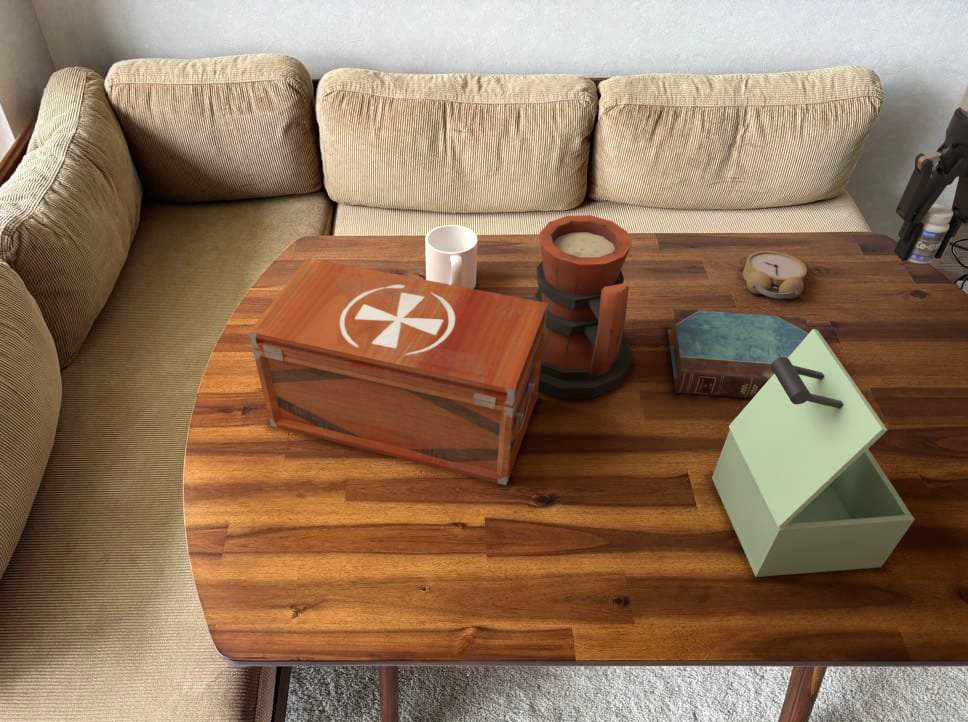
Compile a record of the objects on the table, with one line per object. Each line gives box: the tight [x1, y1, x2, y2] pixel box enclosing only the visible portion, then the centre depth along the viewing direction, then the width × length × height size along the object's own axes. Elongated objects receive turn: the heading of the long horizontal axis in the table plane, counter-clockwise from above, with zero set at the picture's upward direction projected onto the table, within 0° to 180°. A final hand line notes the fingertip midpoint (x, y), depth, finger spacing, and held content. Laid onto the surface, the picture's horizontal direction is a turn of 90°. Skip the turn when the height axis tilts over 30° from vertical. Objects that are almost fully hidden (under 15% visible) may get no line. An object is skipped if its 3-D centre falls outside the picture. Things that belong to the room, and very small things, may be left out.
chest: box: [711, 429, 915, 578], centre depth 107 cm, size 18×18×11 cm
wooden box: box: [248, 257, 548, 486], centre depth 121 cm, size 20×41×20 cm, turn 71°
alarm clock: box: [742, 250, 808, 300], centre depth 150 cm, size 11×5×15 cm
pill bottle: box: [907, 203, 953, 265], centre depth 121 cm, size 5×5×8 cm
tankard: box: [533, 214, 633, 400], centre depth 128 cm, size 22×25×25 cm
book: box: [667, 308, 811, 400], centre depth 133 cm, size 23×18×5 cm
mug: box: [424, 224, 478, 289], centre depth 150 cm, size 13×10×10 cm
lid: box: [728, 328, 888, 528], centre depth 96 cm, size 18×18×8 cm
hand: (917, 254), depth 124 cm, fingers closed on pill bottle, 5 cm apart
